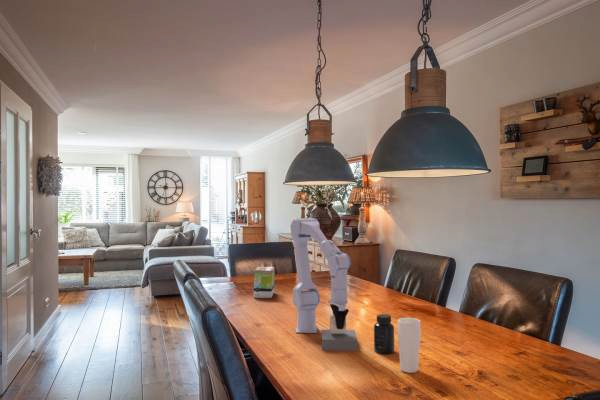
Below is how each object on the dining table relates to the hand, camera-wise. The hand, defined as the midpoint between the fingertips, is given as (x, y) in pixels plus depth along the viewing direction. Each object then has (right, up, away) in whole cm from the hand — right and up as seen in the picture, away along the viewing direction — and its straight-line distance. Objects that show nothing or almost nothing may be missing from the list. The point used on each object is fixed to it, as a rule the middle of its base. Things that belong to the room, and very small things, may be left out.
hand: (338, 326), depth 157 cm
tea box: (-33, -7, +85) cm, 91 cm away
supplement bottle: (+15, -7, -7) cm, 17 cm away
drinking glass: (+19, -7, -24) cm, 31 cm away
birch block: (0, -2, 0) cm, 2 cm away
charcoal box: (0, -7, 0) cm, 7 cm away
